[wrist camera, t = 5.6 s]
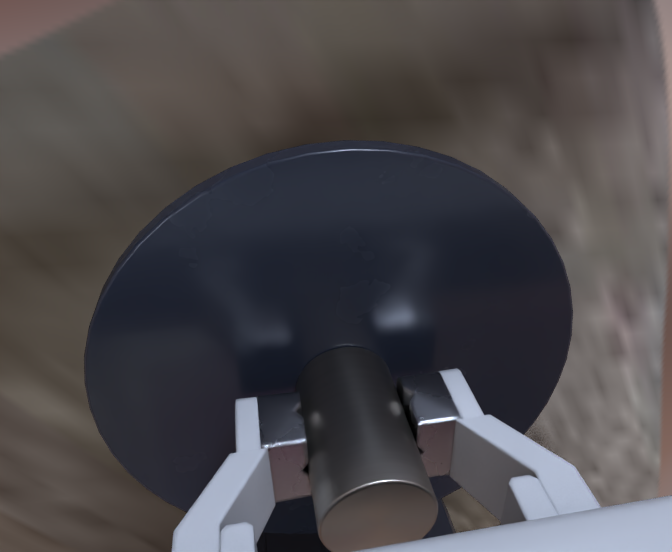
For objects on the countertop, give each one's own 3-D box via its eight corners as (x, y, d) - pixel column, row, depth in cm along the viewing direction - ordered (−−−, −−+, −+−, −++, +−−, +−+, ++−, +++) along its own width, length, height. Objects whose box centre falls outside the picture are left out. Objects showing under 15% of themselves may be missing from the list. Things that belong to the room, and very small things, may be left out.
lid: (-23, 270, 12) (-154, 457, 8) (499, 33, 12) (662, 101, 7) (235, 548, 19) (238, 733, 15) (579, 409, 18) (690, 562, 14)
